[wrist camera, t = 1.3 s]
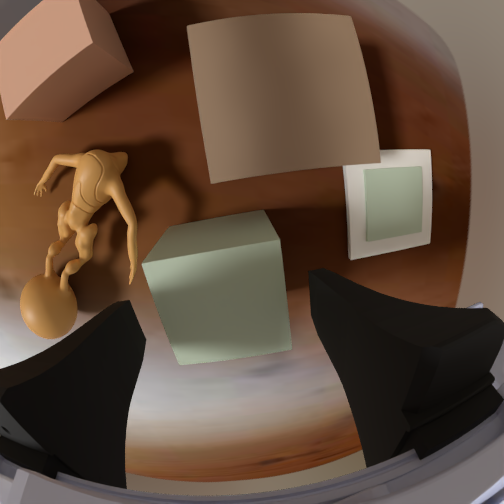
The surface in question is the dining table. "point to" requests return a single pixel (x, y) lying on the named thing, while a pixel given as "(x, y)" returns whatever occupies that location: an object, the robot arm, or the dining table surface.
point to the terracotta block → (59, 60)
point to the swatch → (389, 203)
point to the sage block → (220, 288)
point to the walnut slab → (282, 94)
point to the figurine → (69, 221)
